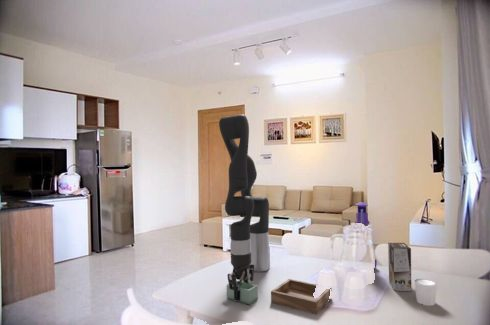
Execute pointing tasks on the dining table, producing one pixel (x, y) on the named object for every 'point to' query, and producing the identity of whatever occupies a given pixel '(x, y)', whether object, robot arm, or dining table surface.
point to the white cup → (426, 291)
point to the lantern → (363, 217)
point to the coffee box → (399, 266)
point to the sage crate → (244, 293)
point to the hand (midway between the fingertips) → (242, 296)
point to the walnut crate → (299, 296)
